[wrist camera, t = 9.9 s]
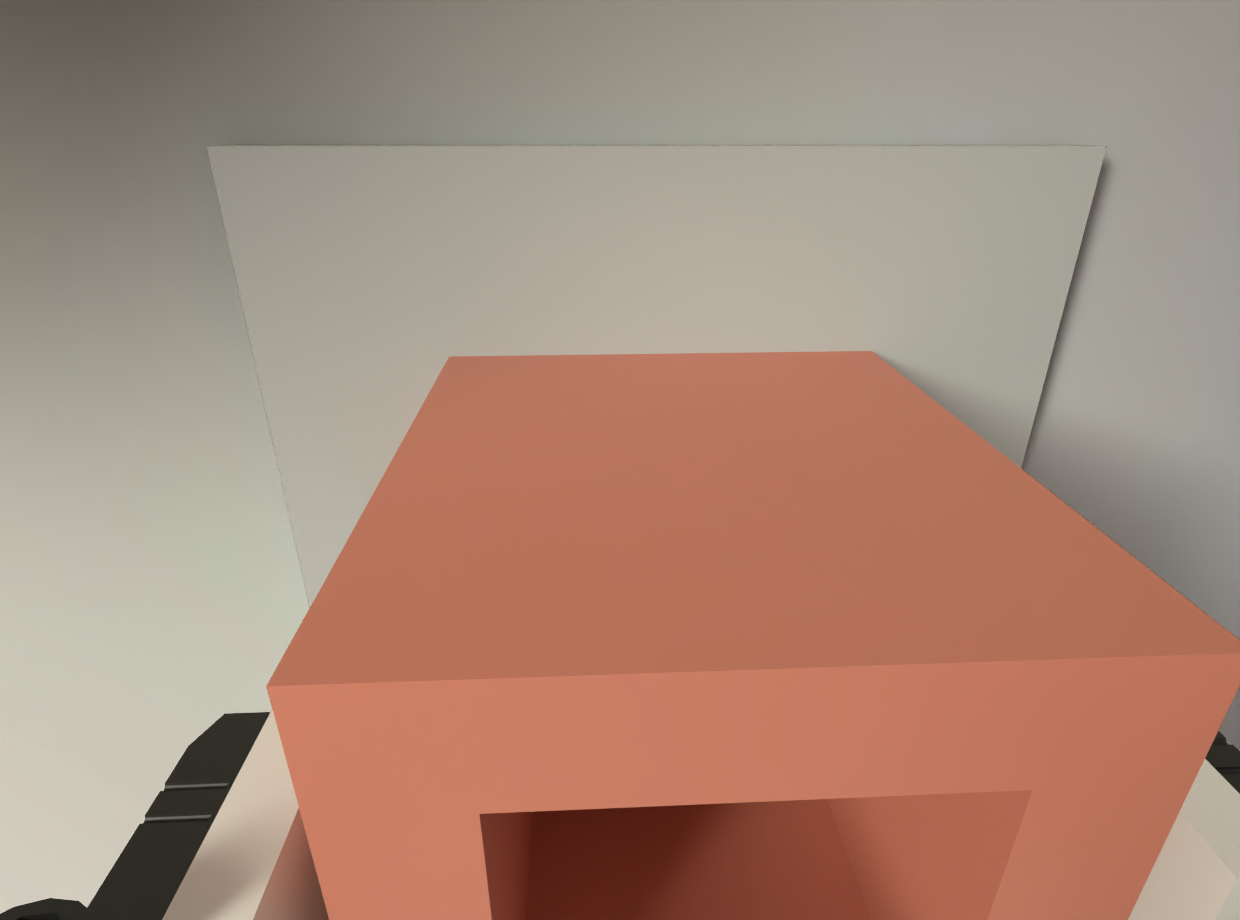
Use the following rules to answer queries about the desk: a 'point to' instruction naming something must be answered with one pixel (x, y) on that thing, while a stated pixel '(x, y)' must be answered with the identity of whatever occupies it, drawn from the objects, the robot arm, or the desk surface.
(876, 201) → the coaster
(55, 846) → the desk surface
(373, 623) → the salmon square sleeve
